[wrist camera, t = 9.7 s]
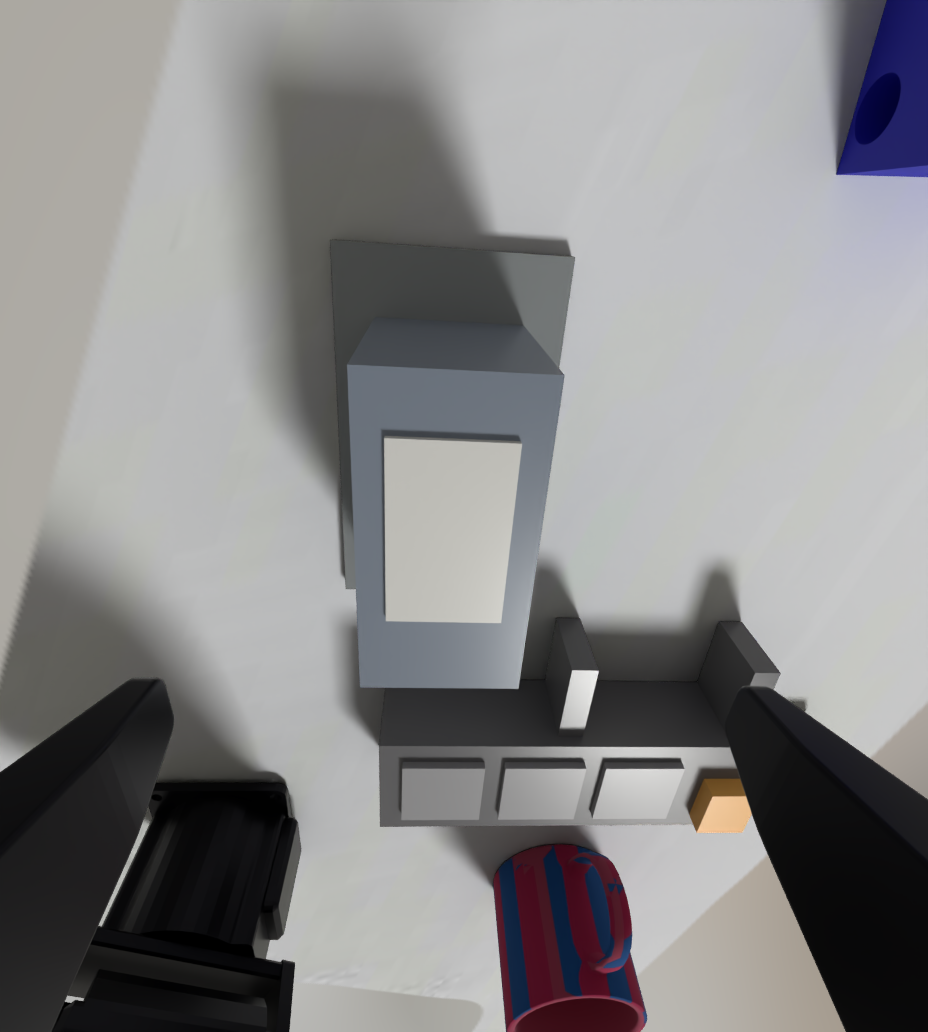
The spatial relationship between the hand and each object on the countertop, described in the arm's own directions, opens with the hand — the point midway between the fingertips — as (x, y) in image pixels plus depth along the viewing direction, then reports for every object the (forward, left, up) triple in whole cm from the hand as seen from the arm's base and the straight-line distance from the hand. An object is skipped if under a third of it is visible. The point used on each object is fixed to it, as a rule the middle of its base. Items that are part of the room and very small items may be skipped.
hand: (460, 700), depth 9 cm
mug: (+8, -25, -12) cm, 29 cm away
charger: (0, -1, -11) cm, 11 cm away
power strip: (+8, -12, -12) cm, 18 cm away
